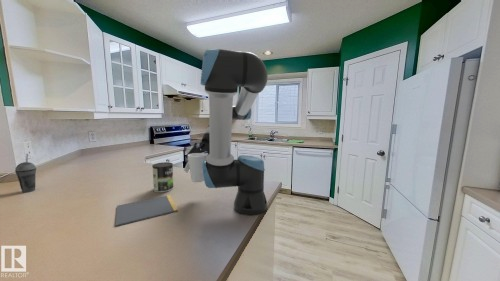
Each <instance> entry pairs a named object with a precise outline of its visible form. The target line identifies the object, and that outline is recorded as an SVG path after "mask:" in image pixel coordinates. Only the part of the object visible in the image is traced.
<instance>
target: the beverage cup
mask: <svg viewBox="0 0 500 281" xmlns="http://www.w3.org/2000/svg"><path fill="white" fill-rule="evenodd" d="M25 157H26V160H25V161H24V162H20V163H18V164H17V165H16V167H15V169H14V170H15V171H14V172H15V174H16V176H17V179H18V183H19V186H20V190H21V191H22V193H23V194H25V193H31V192H35V191H36V172H37V167H36V165H35V164H34V163H32V162H29V161H28V159H29V158H28V157H29V153H26V156H25Z"/></svg>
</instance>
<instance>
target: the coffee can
mask: <svg viewBox="0 0 500 281" xmlns="http://www.w3.org/2000/svg"><path fill="white" fill-rule="evenodd" d="M173 166H174V164H173V162H168V161H166V162H158V163H154V164H152V178H153V180H152V181H153V183H152V184H153V192H155V193H168V192H170V191H172V190H173V189H174V188H175V186H174V170H173V169H174V167H173Z"/></svg>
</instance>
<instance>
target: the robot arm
mask: <svg viewBox="0 0 500 281" xmlns="http://www.w3.org/2000/svg"><path fill="white" fill-rule="evenodd" d="M200 74H201V76H200V85H201V86H204V91H205V93H207V94H208V97H209V98H208V100H209V101H208V103H209V104H208V106H209V107H208V109H209V111H208V112H209V115H208V116H209V118H208V120H209V123H208V126H207V127H206V129H205V132H204V134H203V136H202V137H201V140H200V142H199V143H197V142H195V143H194V144H193V145H192V148H191V149H190V150H189V151H188V153H187V154H186V155H185V158H186V162H185V167H184V169H183V171H184V173H186V174H187V173H188V172H190V168H189V162H188V154H193V153H204V152H206V154H208V155H207V157H206V160H205V161H203V163H202V166H203V170H202V173H203V176H204V181H203V182H204V185H205V186H206V188H208V189H219V188H233V187H237V193H236V195H235V198H234V200H233V209H234V210H235V211H236V212H237V213H239V214H242V215H248V216H257V215H260V214H263V213H265V212H266V211H267V209H268V201H267V197H266V195H265V191H264V189H265V187H264V186H265V162H264V160H263V159H262V158H260V157H257V156H253V155H247V154H246V155H244V154H242V155H238V157H237V159H235V156H234V155H233V154H232V133H233V132H232V129H233V127H232V126H233V121H234V120H235V121H238V120H239V121H246V120H247V121H248V120H250V119H251V117H252V106H253V104H254V102H255V100H256V99H257V96H258V95H259V93H262V92H263V90H264V89H265V88H266V86H267V83H268V78H269V76H268V70H267V66H266V65H265V63H264V61H263V60H262V59H261V58H260V57H259V56H258V55H257V54H254V53H253V52H249V51H240V50H239V51H238V50H237V51H236V50H230V49H222V48H221V49H220V48H207V49H205V50H204V53H203V57H202V66H201V73H200ZM239 88H240V91H238V89H239ZM238 92H239V94H238V97H237V100H236V103H235V105H233V104H234V96H235V95H237V93H238Z"/></svg>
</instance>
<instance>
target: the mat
mask: <svg viewBox="0 0 500 281" xmlns="http://www.w3.org/2000/svg"><path fill="white" fill-rule="evenodd" d="M116 207H117V208H116V217H115V227H120V226H124V225H129V224H132V223H136V222H140V221H143V220H148V219H151V218H156V217H160V216H164V215H168V214H172V213H176V212H178V211H179V209H178V207H177V206H176V203H175V201H174V200H173V198H172V196H171V195H170V194H168V195H164V196H158V197H154V198H149V199H144V200H138V201H134V202H129V203H123V204H118V205H116Z"/></svg>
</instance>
